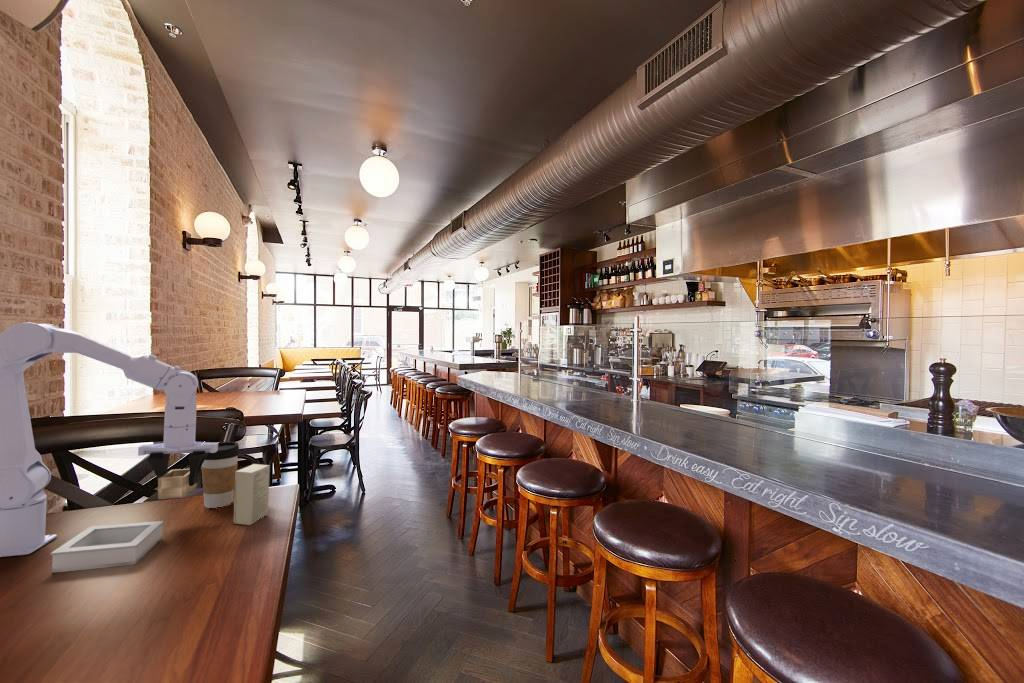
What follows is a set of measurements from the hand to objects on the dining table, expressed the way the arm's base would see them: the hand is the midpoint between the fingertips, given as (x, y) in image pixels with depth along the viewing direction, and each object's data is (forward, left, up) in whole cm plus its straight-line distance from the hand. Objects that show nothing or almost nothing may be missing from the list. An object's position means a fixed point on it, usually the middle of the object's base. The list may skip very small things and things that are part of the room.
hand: (177, 485), depth 98 cm
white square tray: (-6, -13, -9) cm, 17 cm away
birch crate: (0, 0, -2) cm, 2 cm away
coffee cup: (+5, +11, -9) cm, 15 cm away
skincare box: (+15, -1, -9) cm, 18 cm away
